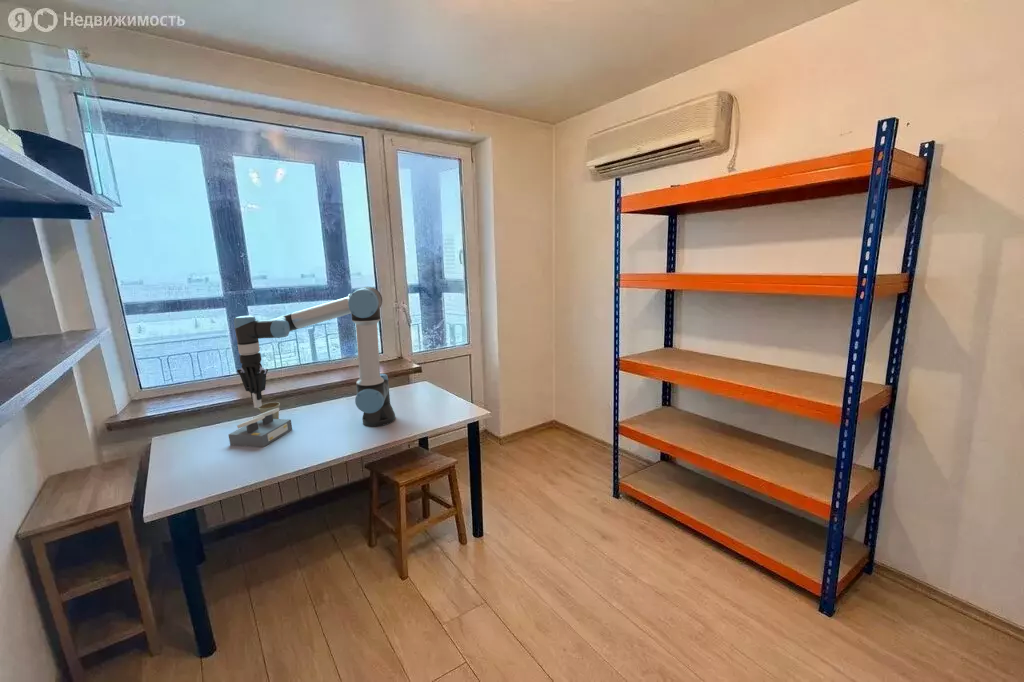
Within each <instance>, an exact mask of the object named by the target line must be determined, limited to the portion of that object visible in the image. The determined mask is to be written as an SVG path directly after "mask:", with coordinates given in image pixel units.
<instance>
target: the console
mask: <svg viewBox="0 0 1024 682" xmlns="http://www.w3.org/2000/svg"><path fill="white" fill-rule="evenodd" d="M291 431H293V426H292V419H286V418H285V419H284V418H281V419H280V418H279V419H273V415H272V414H271V415H268V416H265V418H264V419H262V420H260V421H258V422H255V423H252V424H249V425H247V426H244V427H241V428H239V429H238V428H237V429H236V430H234V431H233V432H230V433H228V439H229V440H228V441H229V445H230V446H234V447H235V446H236V447H237V446H238V447H255V448H264V447H266V446H268V445H269V444H271V443H272V442H274V441H276V440H278V439H279V438H281V437H282V436H284V435H287V433H290V432H291Z"/></svg>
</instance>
